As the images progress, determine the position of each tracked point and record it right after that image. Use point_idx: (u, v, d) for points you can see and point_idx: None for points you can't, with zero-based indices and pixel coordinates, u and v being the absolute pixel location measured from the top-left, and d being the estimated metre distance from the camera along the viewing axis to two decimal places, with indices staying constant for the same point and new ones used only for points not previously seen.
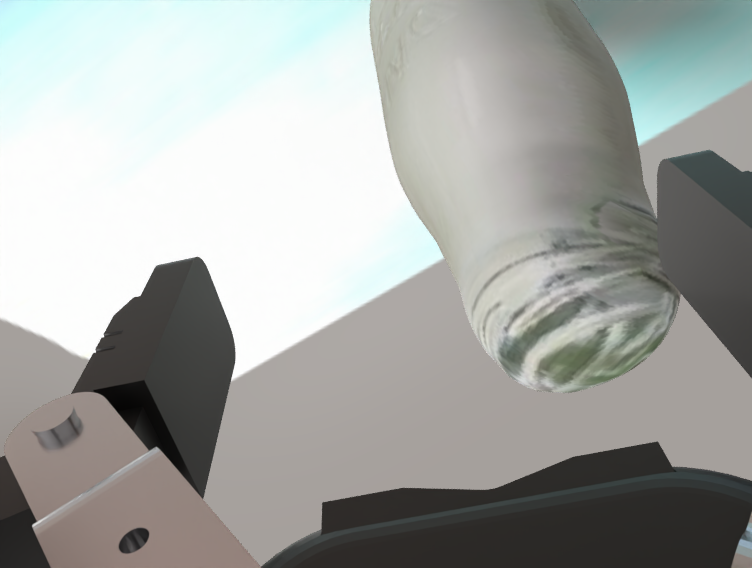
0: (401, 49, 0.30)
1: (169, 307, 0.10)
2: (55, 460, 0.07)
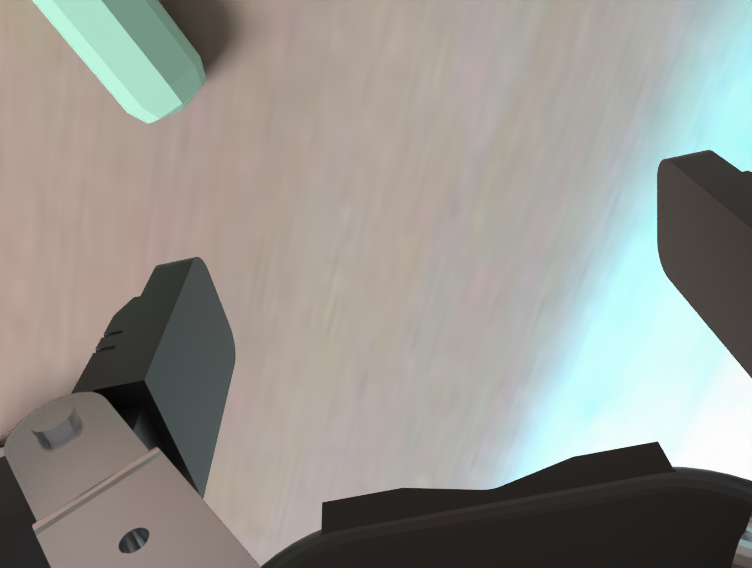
0: None
1: (169, 307, 0.10)
2: (55, 460, 0.07)
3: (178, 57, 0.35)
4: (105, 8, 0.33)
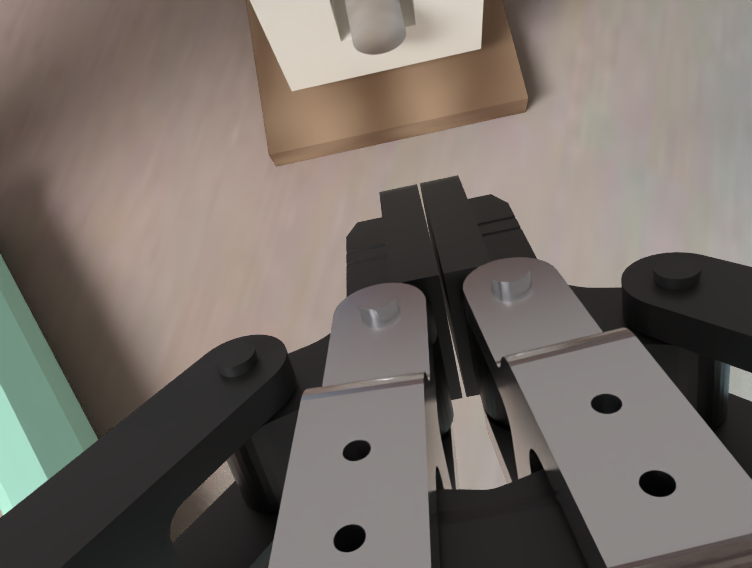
0: None
1: (419, 222, 0.11)
2: (400, 332, 0.08)
3: None
4: None
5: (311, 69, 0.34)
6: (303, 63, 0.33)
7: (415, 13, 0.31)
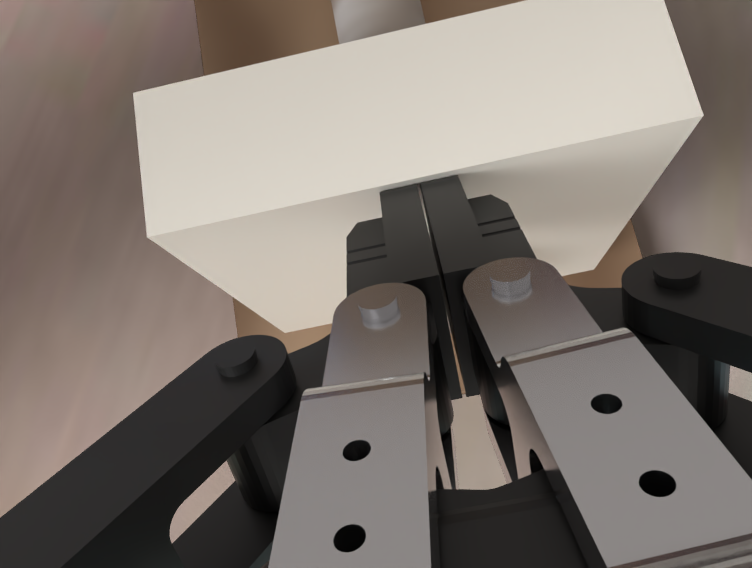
0: None
1: (419, 221, 0.11)
2: (400, 332, 0.08)
3: None
4: None
5: (316, 314, 0.20)
6: (303, 312, 0.20)
7: None
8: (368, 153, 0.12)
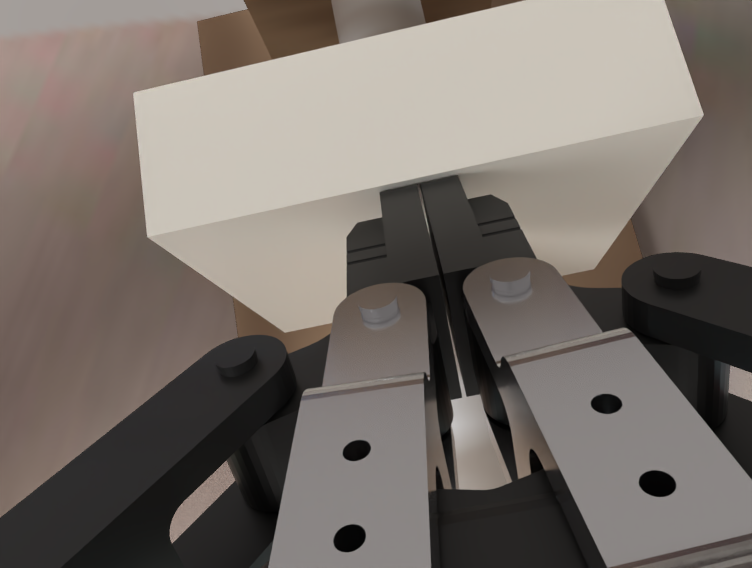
0: None
1: (419, 222, 0.11)
2: (400, 332, 0.08)
3: None
4: None
5: (317, 314, 0.20)
6: (303, 312, 0.20)
7: None
8: (368, 153, 0.12)
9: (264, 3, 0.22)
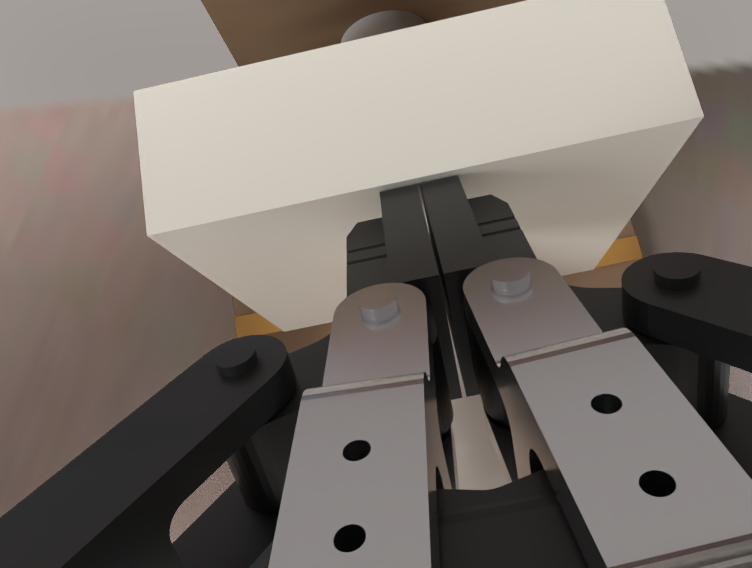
0: None
1: (419, 222, 0.11)
2: (400, 333, 0.08)
3: None
4: None
5: (316, 313, 0.20)
6: (302, 311, 0.20)
7: None
8: (368, 153, 0.12)
9: None
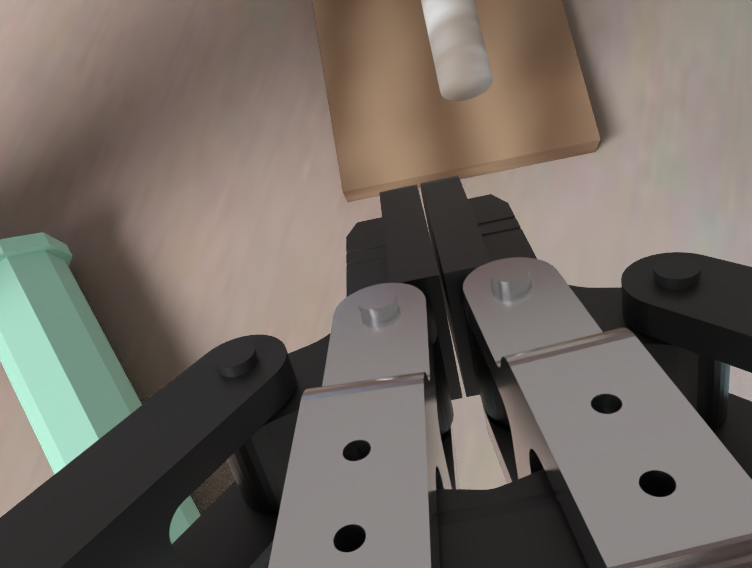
0: None
1: (419, 222, 0.11)
2: (400, 332, 0.08)
3: None
4: None
5: None
6: None
7: None
8: None
9: None
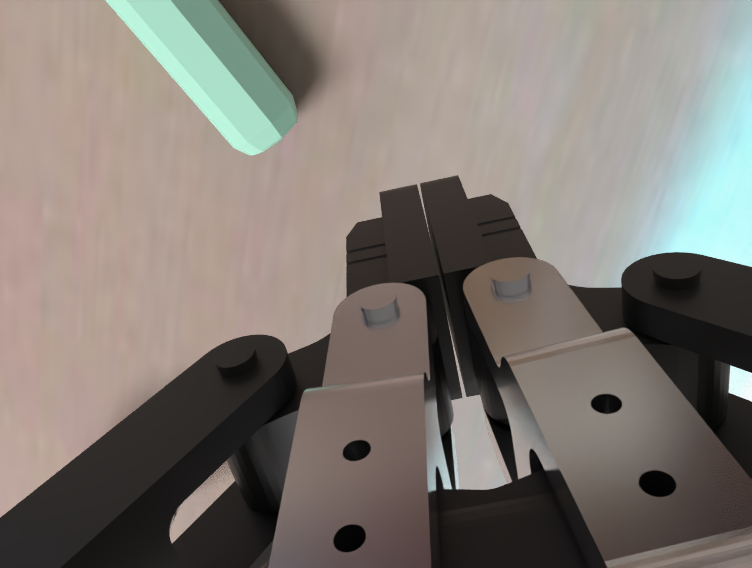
0: None
1: (419, 222, 0.11)
2: (400, 333, 0.08)
3: (277, 99, 0.41)
4: (219, 62, 0.39)
5: None
6: None
7: None
8: None
9: None
